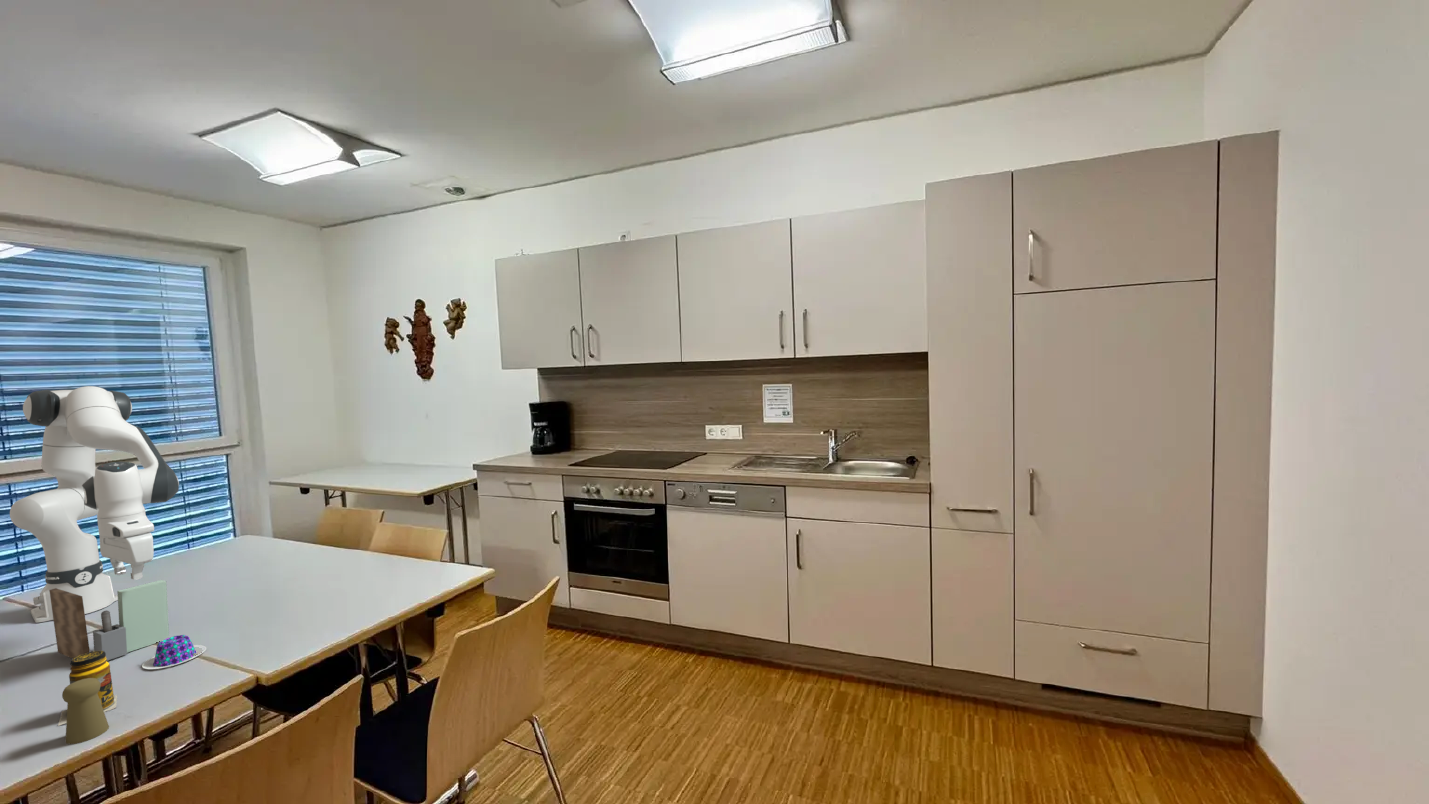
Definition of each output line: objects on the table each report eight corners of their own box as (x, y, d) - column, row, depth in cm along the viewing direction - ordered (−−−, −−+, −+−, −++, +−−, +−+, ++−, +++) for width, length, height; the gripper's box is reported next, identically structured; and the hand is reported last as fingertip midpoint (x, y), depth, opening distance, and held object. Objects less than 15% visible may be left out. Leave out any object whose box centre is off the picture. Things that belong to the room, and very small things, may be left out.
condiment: (116, 708, 127) (109, 655, 126) (57, 726, 121) (50, 671, 120) (117, 695, 132) (110, 644, 131) (61, 712, 126) (54, 659, 125)
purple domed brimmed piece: (187, 645, 156) (184, 626, 156) (217, 650, 152) (215, 631, 152) (130, 668, 145) (127, 648, 144) (162, 675, 141) (159, 653, 141)
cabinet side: (58, 652, 155) (49, 590, 154) (85, 643, 160) (77, 582, 159) (91, 666, 146) (83, 600, 145) (120, 656, 151) (112, 592, 150)
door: (94, 658, 149) (90, 596, 149) (162, 636, 162) (159, 579, 161) (102, 662, 147) (99, 599, 147) (171, 639, 160) (168, 581, 159)
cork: (117, 725, 121) (110, 673, 120) (83, 744, 115) (76, 690, 114) (91, 724, 121) (84, 673, 120) (56, 744, 115) (48, 690, 114)
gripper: (88, 524, 154) (94, 575, 156) (124, 532, 146) (130, 586, 147) (120, 518, 160) (126, 567, 161) (157, 525, 151) (162, 577, 152)
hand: (128, 576), depth 154 cm, fingers open, 8 cm apart
